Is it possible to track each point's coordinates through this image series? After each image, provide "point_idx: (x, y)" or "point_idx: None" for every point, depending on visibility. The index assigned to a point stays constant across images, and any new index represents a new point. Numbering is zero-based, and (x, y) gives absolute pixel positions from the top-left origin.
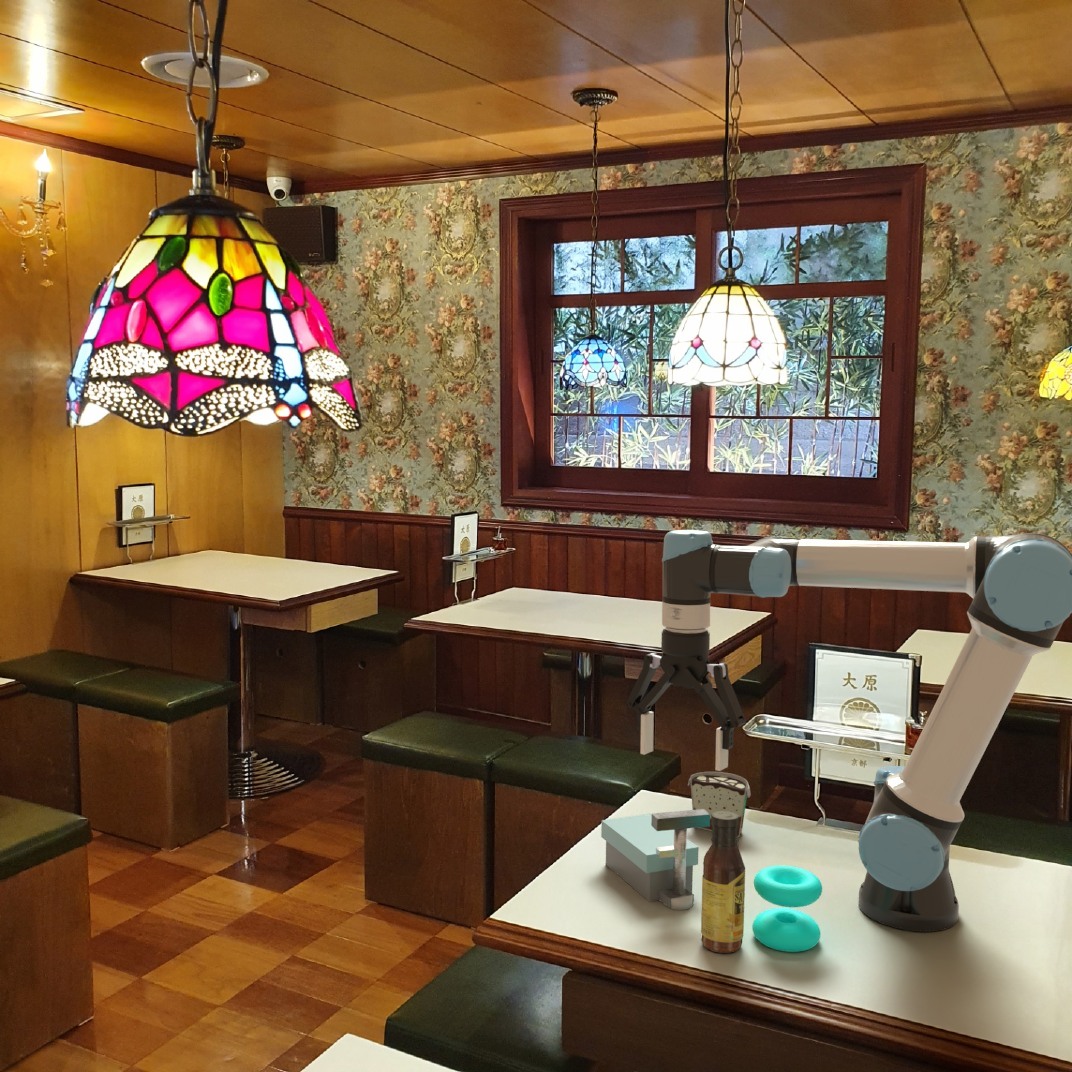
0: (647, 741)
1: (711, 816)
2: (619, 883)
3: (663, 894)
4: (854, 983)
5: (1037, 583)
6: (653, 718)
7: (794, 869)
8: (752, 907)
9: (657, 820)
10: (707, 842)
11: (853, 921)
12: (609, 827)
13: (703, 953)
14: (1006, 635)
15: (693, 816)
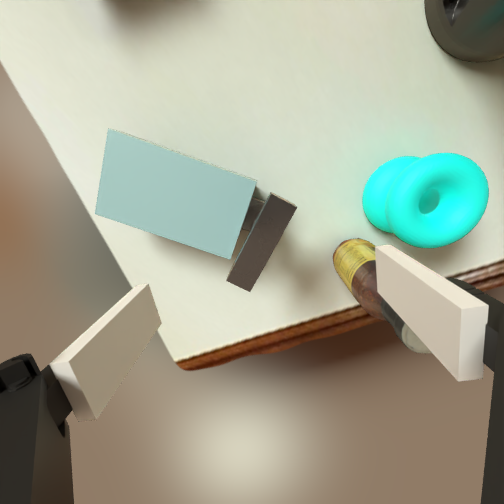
0: (142, 329)
1: (405, 345)
2: None
3: (248, 230)
4: (494, 221)
5: None
6: (89, 343)
7: (440, 175)
8: (325, 156)
9: (250, 290)
10: (147, 15)
11: (441, 85)
12: (121, 222)
13: None
14: None
15: (280, 235)
